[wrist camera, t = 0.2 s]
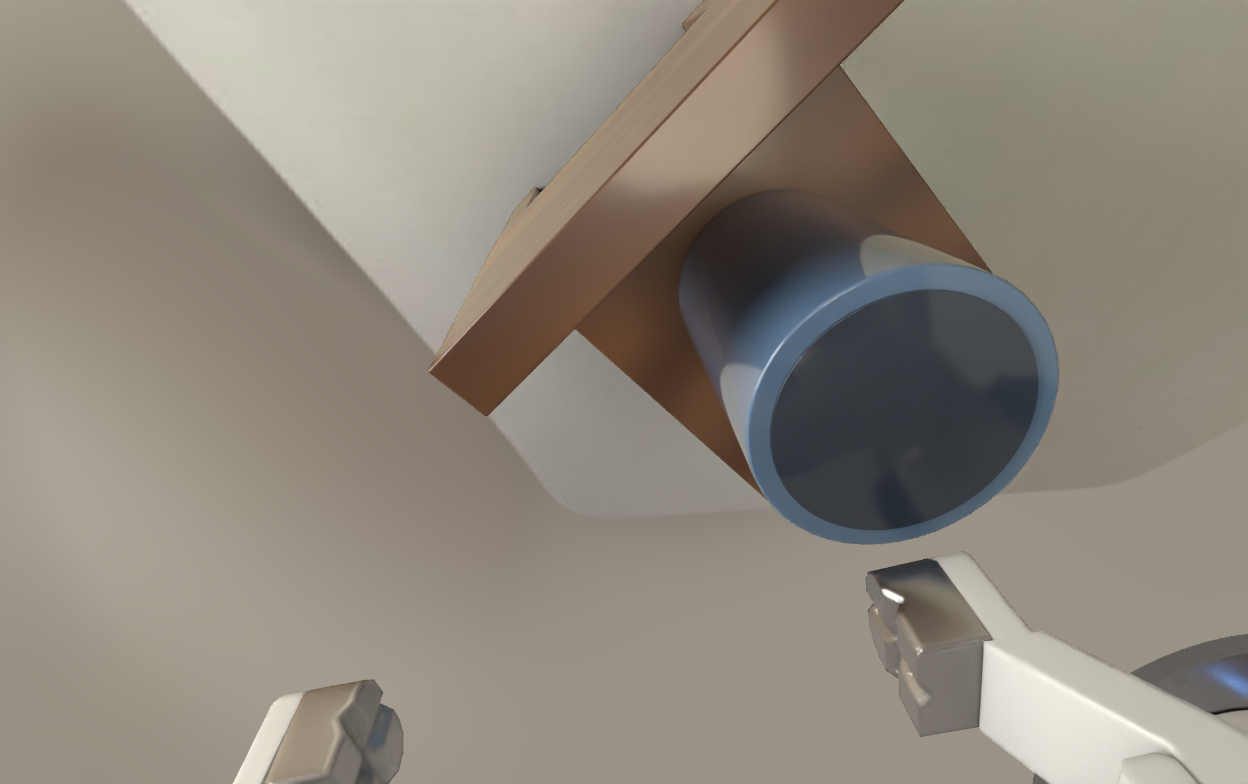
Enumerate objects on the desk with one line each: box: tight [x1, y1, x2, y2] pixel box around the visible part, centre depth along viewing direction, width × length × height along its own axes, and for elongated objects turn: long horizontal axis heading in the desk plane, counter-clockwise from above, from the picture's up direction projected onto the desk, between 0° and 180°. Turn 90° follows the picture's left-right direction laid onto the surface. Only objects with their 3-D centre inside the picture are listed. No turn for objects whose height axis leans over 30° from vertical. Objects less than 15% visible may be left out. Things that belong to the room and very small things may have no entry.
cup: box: [679, 190, 1059, 545], centre depth 18 cm, size 7×7×10 cm
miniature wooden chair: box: [429, 0, 993, 498], centre depth 22 cm, size 16×12×18 cm
